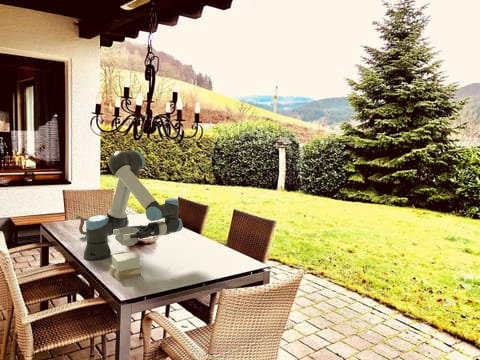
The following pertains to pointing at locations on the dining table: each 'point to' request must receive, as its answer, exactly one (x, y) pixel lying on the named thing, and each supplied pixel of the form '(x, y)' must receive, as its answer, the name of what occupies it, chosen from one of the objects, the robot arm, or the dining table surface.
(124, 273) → the tower base
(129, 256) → the tower top
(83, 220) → the tankard
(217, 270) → the dining table surface
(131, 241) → the teacup
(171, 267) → the dining table surface
